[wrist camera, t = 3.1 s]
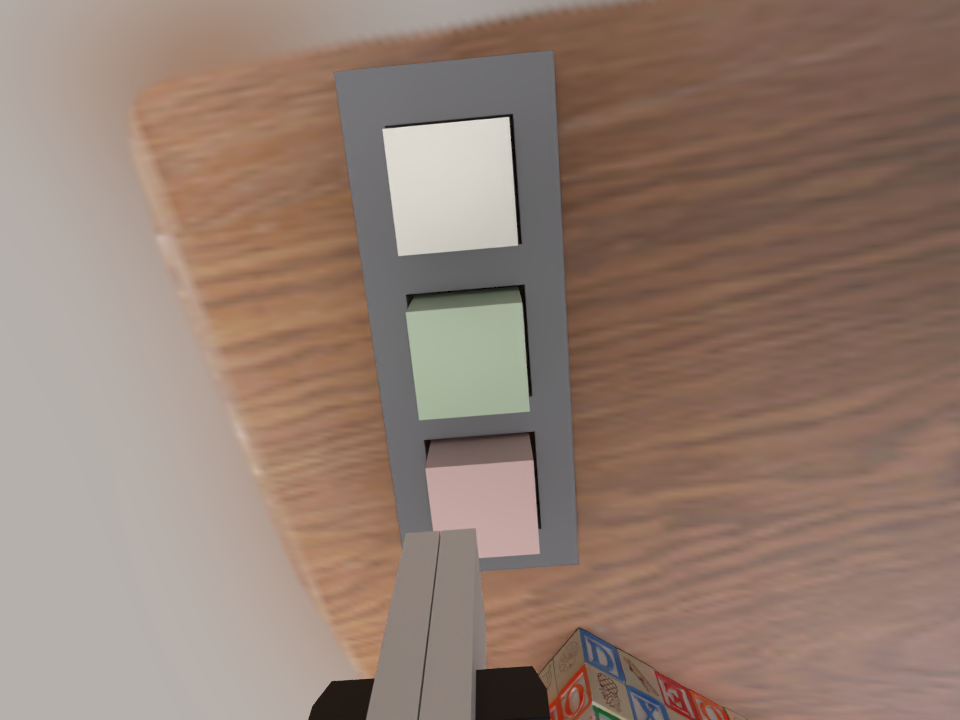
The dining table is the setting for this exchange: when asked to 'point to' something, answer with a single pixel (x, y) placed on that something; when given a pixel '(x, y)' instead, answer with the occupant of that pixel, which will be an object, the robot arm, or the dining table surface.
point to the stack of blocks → (617, 687)
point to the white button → (452, 186)
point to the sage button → (468, 353)
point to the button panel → (468, 273)
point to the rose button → (485, 491)
